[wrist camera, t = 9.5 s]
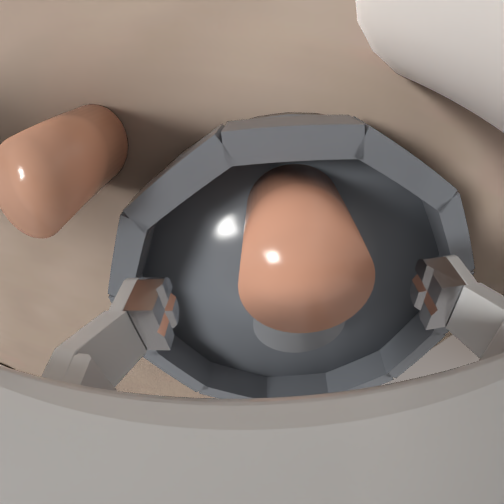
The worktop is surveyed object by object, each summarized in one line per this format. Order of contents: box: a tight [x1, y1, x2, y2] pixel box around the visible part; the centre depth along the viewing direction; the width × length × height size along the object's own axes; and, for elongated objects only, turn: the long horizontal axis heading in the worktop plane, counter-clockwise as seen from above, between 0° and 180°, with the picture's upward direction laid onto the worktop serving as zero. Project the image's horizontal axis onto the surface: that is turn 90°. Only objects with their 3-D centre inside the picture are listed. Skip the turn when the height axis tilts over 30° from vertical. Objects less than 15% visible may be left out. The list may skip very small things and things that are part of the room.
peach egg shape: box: [238, 164, 375, 333], centre depth 11 cm, size 4×4×5 cm
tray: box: [108, 112, 475, 399], centre depth 15 cm, size 18×18×3 cm
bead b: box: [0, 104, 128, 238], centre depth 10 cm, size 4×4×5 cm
